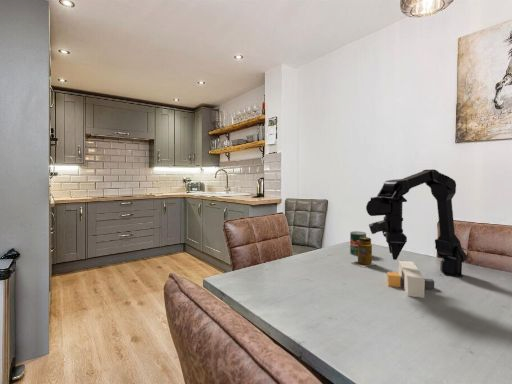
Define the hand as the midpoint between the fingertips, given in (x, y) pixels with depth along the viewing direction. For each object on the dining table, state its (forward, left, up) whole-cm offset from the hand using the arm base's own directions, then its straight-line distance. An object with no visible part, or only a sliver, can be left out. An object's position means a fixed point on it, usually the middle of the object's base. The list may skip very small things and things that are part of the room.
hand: (393, 256), depth 108 cm
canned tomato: (+12, -42, -11) cm, 45 cm away
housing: (-6, 0, -11) cm, 12 cm away
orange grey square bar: (-6, 0, -11) cm, 12 cm away
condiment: (+10, -24, -11) cm, 28 cm away
